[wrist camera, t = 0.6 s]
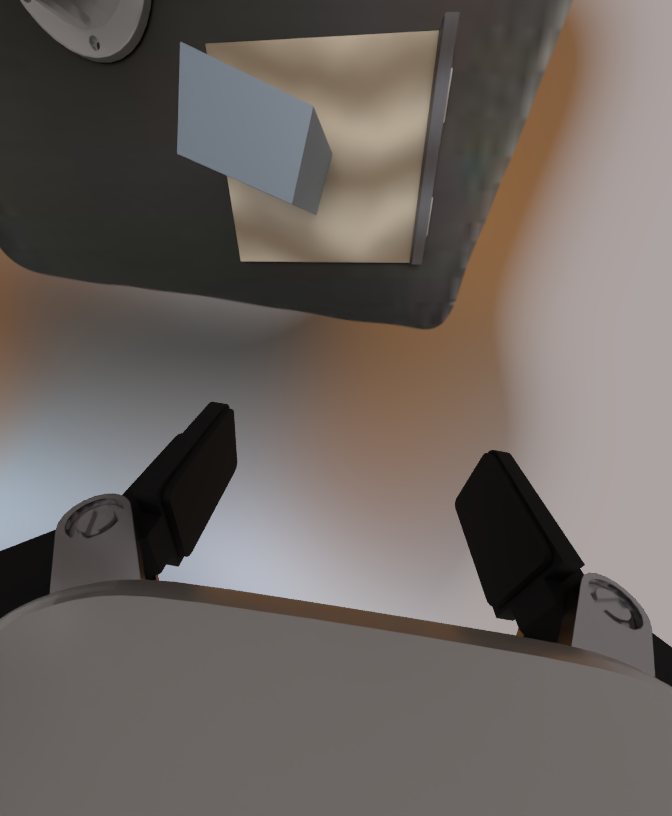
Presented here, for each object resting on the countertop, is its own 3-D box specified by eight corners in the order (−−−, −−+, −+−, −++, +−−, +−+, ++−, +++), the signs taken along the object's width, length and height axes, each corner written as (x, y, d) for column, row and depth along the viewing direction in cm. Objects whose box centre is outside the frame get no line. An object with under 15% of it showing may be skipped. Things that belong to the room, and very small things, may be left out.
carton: (241, 182, 27) (177, 153, 18) (250, 112, 25) (180, 36, 15) (316, 215, 28) (291, 203, 19) (333, 151, 25) (314, 101, 16)
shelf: (213, 54, 24) (192, 28, 21) (449, 41, 22) (462, 11, 19) (245, 260, 32) (233, 262, 29) (418, 261, 31) (423, 264, 28)
